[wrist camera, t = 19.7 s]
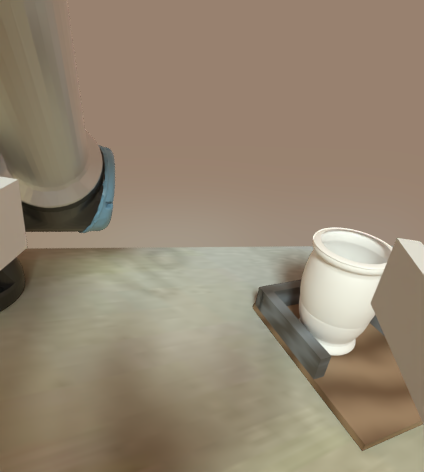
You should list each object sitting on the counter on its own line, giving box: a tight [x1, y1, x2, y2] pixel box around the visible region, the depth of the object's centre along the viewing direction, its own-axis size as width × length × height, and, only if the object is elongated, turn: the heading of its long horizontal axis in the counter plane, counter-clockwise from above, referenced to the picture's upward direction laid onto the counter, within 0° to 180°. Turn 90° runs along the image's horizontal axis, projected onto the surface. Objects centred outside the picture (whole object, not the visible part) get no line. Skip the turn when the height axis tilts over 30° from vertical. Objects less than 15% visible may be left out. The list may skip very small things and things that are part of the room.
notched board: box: [253, 280, 423, 451], centre depth 51 cm, size 24×17×4 cm
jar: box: [299, 228, 393, 356], centre depth 49 cm, size 11×10×15 cm
